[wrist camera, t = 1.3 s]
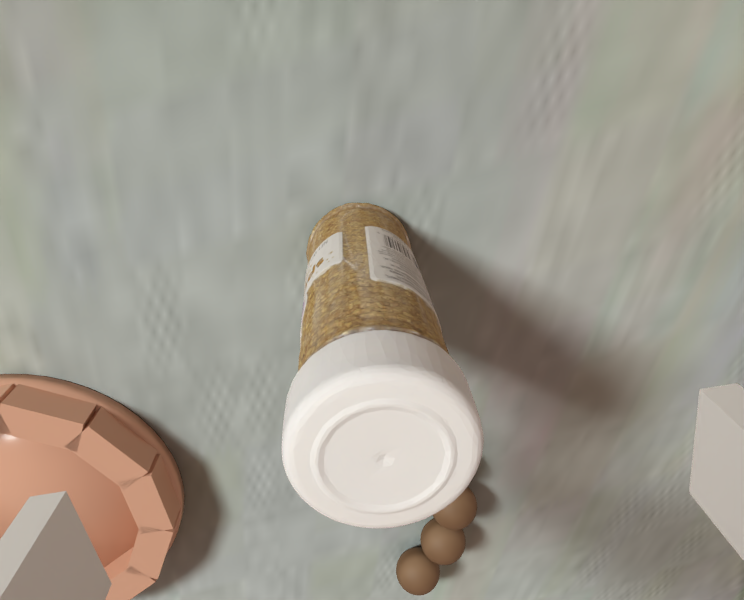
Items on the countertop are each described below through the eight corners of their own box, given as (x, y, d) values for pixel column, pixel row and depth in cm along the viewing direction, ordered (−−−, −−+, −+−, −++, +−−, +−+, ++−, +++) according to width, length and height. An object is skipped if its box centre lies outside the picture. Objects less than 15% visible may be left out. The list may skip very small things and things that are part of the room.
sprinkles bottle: (290, 222, 24) (242, 414, 11) (392, 184, 23) (454, 341, 11) (330, 313, 26) (327, 560, 13) (425, 278, 25) (511, 502, 13)
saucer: (-165, 400, 26) (-209, 431, 24) (133, 351, 26) (115, 378, 24) (-28, 603, 32) (-54, 642, 30) (215, 564, 32) (207, 601, 30)
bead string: (366, 409, 28) (368, 439, 26) (461, 393, 28) (472, 423, 26) (397, 570, 33) (401, 608, 31) (478, 557, 33) (488, 594, 31)
